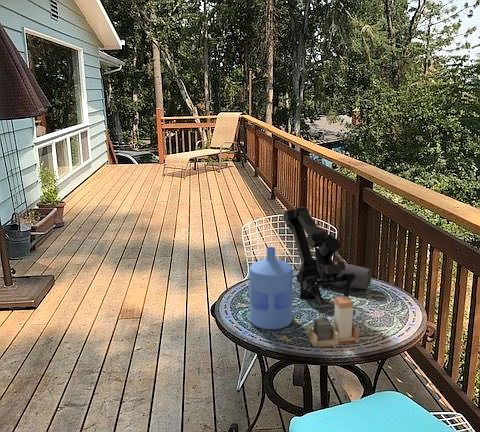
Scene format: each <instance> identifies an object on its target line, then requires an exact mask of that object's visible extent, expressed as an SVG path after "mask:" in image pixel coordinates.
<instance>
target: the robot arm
mask: <svg viewBox="0 0 480 432" xmlns="http://www.w3.org/2000/svg"><path fill="white" fill-rule="evenodd" d="M283 221H284V223H285V225H286V227H287V228H288V229H289V230H291V232H292V234H293V237H294V242H295V245H296V248H297V252H298V254H299V255H298V256H299V258H300V265H299V269H298V270H299V272H298V273H297V275H296V281H297V283H299V285H300V286H299V287H300V289H299V293H300V295H299V299H303V300H305V299H306V300H314V301H315V300H317V301H318V302H319V304H320V305H321V306H324V299H323V297H322V293H321V290H320V285H328V284H329V283H338V282H341V284H343V286H342V287H341V290H342V293H343V297H346V296H348V297H350V290H351V289H350V286H351V285H352V284H353V283H354V282H355V281H356V280H357V277H356V274H354V273H353V272H352V273H344V275H343V276H342V277H337V276H338V275H339V273H341V271H342V270H345V264H346V263H345V261H337V262H338V264H337V265H335V263H334V262H335V261H333V258H332V257H333V256H334V255H335V254H336V253H337V252H338V250H339V249H340V247H341V243H340V241H339V239H337V238H336V237H334V236H333V235H332V233H331V234H330V233H329V234H328V233H327V232H326V230H325V229H324V228H322V227H320V226H318V225H317V223H316V222H315V220H314V219H313V217H312V216H311V213H310V212H309V210H308V207H305V206H301V207H295V208H294V209H287V210H285V212H284V213H283ZM306 235H307V236H306ZM310 248H311V249H313V248H316V249H315V250H314V253H313V256H312V251H311V249H310ZM313 257H314V258H313ZM344 263H345V264H344Z"/></svg>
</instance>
